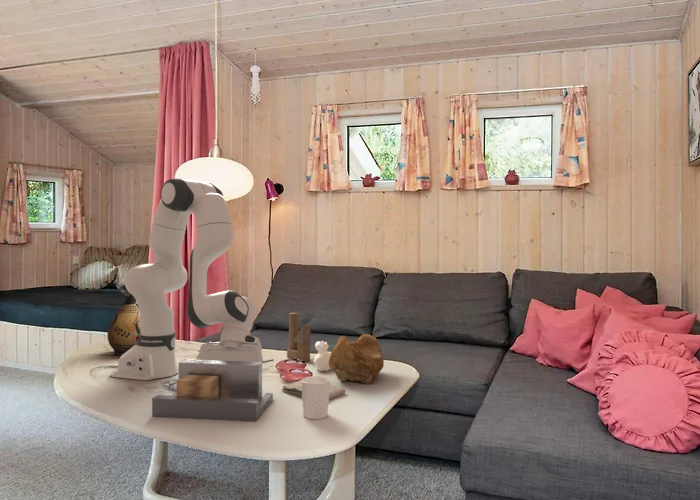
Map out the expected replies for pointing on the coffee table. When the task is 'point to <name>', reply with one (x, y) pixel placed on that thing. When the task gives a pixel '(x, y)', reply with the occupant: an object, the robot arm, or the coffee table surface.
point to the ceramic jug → (125, 325)
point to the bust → (322, 356)
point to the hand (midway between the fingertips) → (224, 382)
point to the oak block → (198, 386)
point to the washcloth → (296, 390)
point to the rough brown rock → (357, 359)
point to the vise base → (209, 407)
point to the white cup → (315, 396)
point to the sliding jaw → (228, 376)
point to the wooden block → (298, 340)
